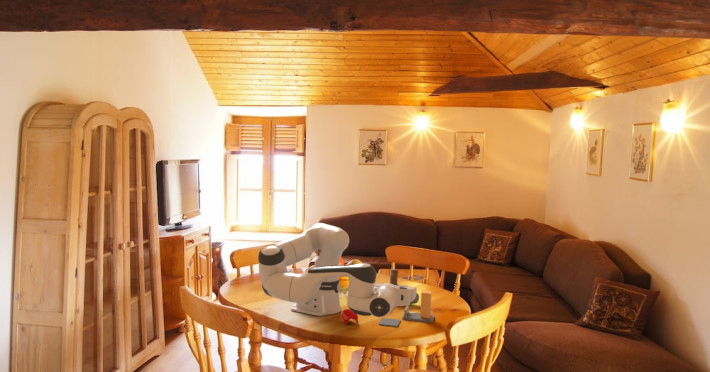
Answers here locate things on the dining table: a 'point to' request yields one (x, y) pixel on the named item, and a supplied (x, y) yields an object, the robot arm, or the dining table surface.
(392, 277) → the brown wooden post
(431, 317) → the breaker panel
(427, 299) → the tan wooden block
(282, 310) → the dining table surface
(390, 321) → the coaster
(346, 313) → the cap
